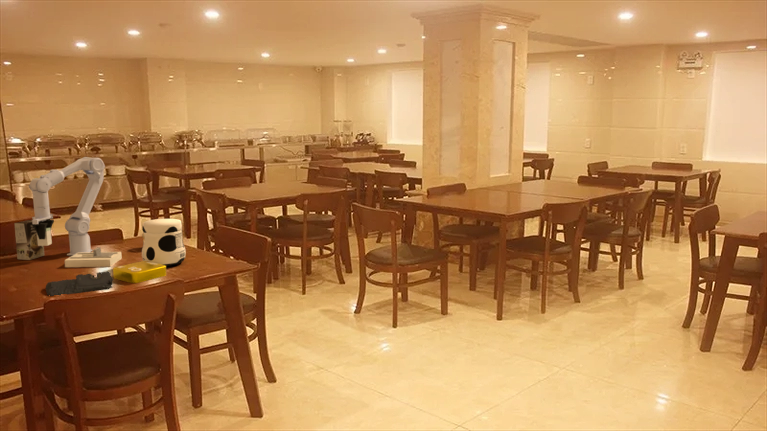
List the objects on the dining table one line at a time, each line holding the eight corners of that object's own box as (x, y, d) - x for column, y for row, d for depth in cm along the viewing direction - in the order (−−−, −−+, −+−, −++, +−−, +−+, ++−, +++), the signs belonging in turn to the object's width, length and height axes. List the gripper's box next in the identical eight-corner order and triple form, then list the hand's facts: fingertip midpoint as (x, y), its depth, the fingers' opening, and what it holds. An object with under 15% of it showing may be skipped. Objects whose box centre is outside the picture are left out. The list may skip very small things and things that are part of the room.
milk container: (140, 261, 264) (137, 220, 261) (182, 257, 272) (180, 217, 269) (145, 271, 249) (142, 226, 246) (189, 266, 257) (187, 223, 254)
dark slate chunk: (45, 287, 227) (44, 275, 226) (110, 279, 238) (109, 267, 237) (46, 298, 214) (45, 285, 213) (115, 290, 225) (114, 277, 224)
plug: (42, 243, 267) (40, 227, 266) (51, 243, 267) (50, 227, 266) (38, 245, 263) (36, 229, 262) (47, 245, 263) (46, 229, 262)
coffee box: (29, 260, 266) (26, 223, 264) (17, 259, 268) (13, 222, 265) (45, 255, 275) (42, 219, 273) (32, 254, 277) (29, 219, 274)
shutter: (98, 253, 265) (98, 247, 264) (114, 253, 266) (113, 246, 265) (92, 257, 259) (92, 250, 258) (109, 257, 259) (108, 250, 259)
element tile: (168, 276, 243) (168, 264, 242) (134, 284, 231) (134, 272, 230) (145, 270, 251) (144, 259, 251) (111, 278, 239) (110, 266, 238)
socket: (78, 259, 268) (78, 251, 268) (121, 258, 270) (121, 250, 269) (65, 267, 255) (64, 259, 254) (110, 266, 256) (109, 258, 255)
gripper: (39, 204, 269) (42, 234, 272) (23, 209, 255) (26, 241, 257) (56, 203, 270) (59, 234, 272) (41, 209, 256) (44, 241, 258)
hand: (44, 238), depth 265 cm, fingers closed on plug, 4 cm apart
